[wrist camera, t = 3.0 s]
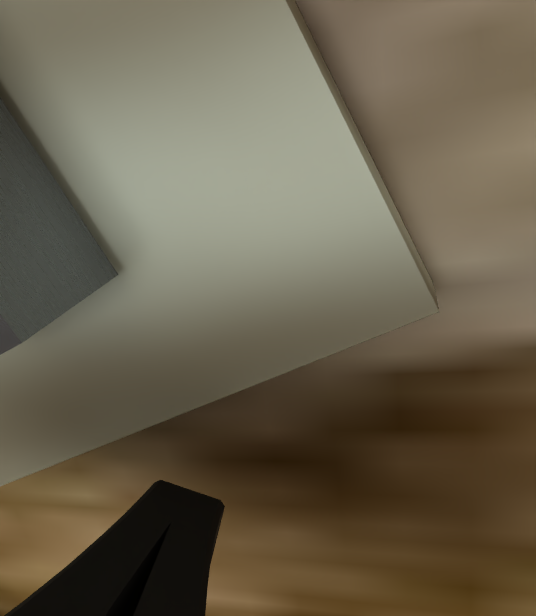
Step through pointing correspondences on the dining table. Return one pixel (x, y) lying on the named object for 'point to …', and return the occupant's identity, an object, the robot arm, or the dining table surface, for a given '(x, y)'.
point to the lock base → (192, 214)
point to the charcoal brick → (39, 243)
